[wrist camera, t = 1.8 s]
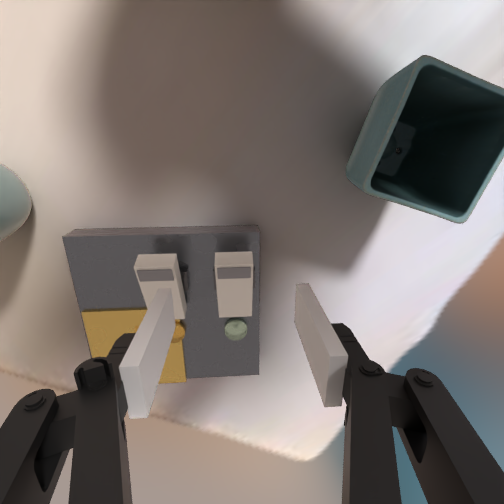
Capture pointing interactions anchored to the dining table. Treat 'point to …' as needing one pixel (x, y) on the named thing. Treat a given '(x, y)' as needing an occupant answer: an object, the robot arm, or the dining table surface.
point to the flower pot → (431, 140)
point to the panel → (194, 285)
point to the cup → (12, 202)
